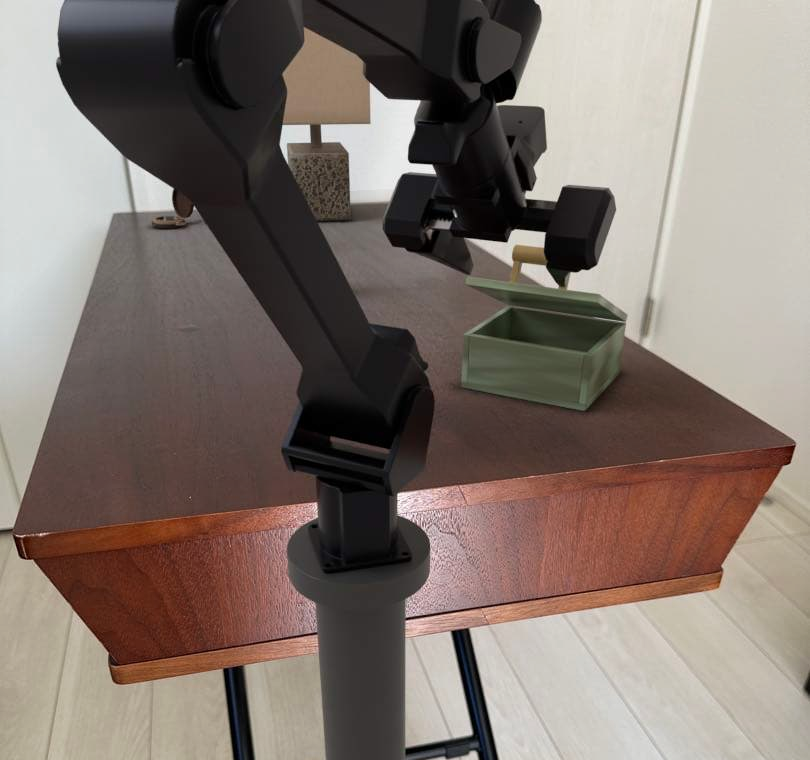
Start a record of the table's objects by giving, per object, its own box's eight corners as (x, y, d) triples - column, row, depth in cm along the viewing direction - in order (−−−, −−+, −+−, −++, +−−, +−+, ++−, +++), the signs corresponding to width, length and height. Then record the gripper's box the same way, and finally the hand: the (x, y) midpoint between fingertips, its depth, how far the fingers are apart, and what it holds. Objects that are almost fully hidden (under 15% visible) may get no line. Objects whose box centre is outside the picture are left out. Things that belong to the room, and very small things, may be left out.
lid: (597, 302, 77) (609, 251, 76) (465, 284, 82) (474, 236, 82) (626, 322, 88) (636, 277, 87) (507, 304, 94) (516, 262, 93)
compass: (145, 226, 160) (139, 185, 156) (180, 220, 165) (175, 180, 161) (169, 232, 155) (163, 190, 151) (205, 226, 160) (200, 185, 156)
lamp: (273, 201, 182) (256, -27, 161) (355, 199, 185) (349, -26, 163) (277, 228, 157) (257, -38, 136) (372, 225, 160) (367, -36, 138)
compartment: (584, 411, 82) (591, 355, 79) (461, 387, 88) (463, 334, 85) (619, 374, 91) (626, 322, 88) (505, 354, 97) (508, 305, 94)
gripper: (627, 69, 60) (644, 209, 74) (398, 64, 68) (453, 192, 82) (579, 202, 58) (606, 320, 72) (349, 182, 66) (414, 292, 80)
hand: (516, 276), depth 76 cm, fingers open, 9 cm apart
